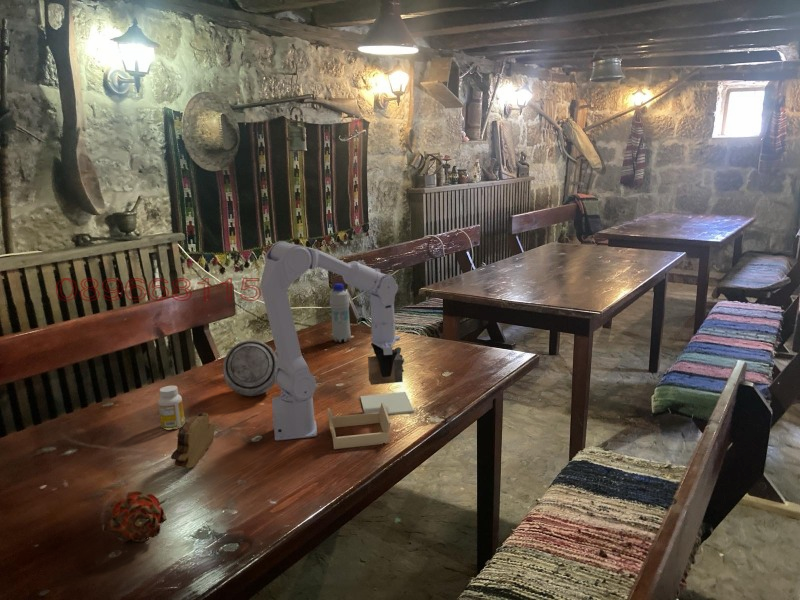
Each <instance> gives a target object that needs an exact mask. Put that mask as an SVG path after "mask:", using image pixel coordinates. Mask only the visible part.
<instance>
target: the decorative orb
mask: <svg viewBox="0 0 800 600" xmlns="http://www.w3.org/2000/svg"><path fill="white" fill-rule="evenodd" d="M277 360H278V355H277V352H275V351H274V349H273V348H272V347H271V346H269V345H268V344H267V343H265V342H262V341H260V340H255V339H254V340H252V339H248V340H244V341H240V342H238V343H236V344H234V346H232V347H231V348H230V349H229V350H228V352H227V353H226V355H225V356H224V359H223V363H222V376H223V378H224V381H225V383H226V385H227V386H228V387H229V388H230V389H231V390H232V391H234V392H235V393H236V394H239V395H241V396H246V397H254V396H260V395H262V394H264V393H267V392H268V391H269V390H270V389H271V388H272V387H273V386H274V385H275V383H276V381H275V374H276V364H275V363H276V361H277Z"/></svg>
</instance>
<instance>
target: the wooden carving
mask: <svg viewBox="0 0 800 600" xmlns="http://www.w3.org/2000/svg"><path fill="white" fill-rule="evenodd" d="M215 428H216V424H215V423H210V417H209V414H208V412H207V413H206V412H199V413H198V414H197V415H193V416H192V417H190V419H189V420H188V421H185V423H184V425H183V426H182V427H180V428H179V429H178V432H177V434H176V437H177V445H176V449H175V450H174V451H173V452H172V454H171V456H170V458H171V460H175V461H174V466H175V467H180V468H185V469H191V468H193V467H195V465H196V464H197V463H198V462H199V460H200V459H201V458H202V457H204V456H205V454H206V452H207V450H208V448H209V447H211V446H212V444H213V443H214V436H215ZM202 459H203V458H202ZM202 459H201V460H202ZM199 463H200V462H199ZM199 463H198V464H199ZM198 464H197V465H198ZM197 465H196V466H197Z"/></svg>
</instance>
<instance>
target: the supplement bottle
mask: <svg viewBox="0 0 800 600" xmlns="http://www.w3.org/2000/svg"><path fill="white" fill-rule="evenodd" d="M159 395H160V397H159V398H158V400H157V405H158V411H159V420H160V426H161V428H162V427H164V428H174V427H178V426H181V425H182V424H184V423H185V422H186V419H185V412H184V404H183V397H182V396H181V395H180V394H179V389H178V386H177V385H166V386H163V387H161V388H160V389H159Z"/></svg>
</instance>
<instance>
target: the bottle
mask: <svg viewBox="0 0 800 600" xmlns="http://www.w3.org/2000/svg"><path fill="white" fill-rule="evenodd" d="M329 294H330V295H329V307H330V310H331V311H330V312H331V324H332V325H331V326H332V328H331V335H332V339H333V340H334V341H335V342H339V343H342V342H345V343H346V342H347V341H350V339H351V338H352V337H351V336H352V335H351V323H350V309H349V308H350V297H349V292H348V291H346V290H345V286H344V284H343V283H339V282H338V283H334V285H333V291H332V292H331V293H329ZM342 340H343V341H342Z"/></svg>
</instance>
